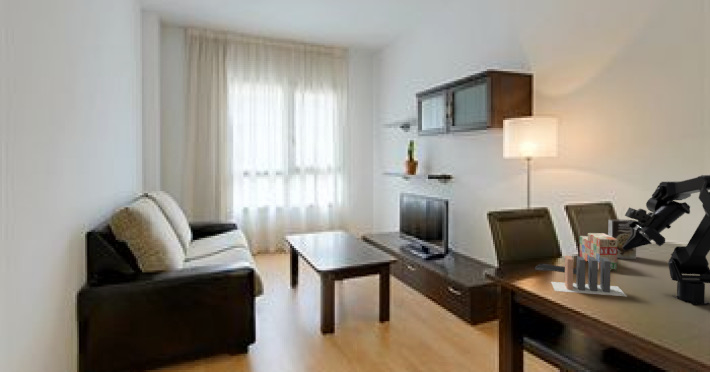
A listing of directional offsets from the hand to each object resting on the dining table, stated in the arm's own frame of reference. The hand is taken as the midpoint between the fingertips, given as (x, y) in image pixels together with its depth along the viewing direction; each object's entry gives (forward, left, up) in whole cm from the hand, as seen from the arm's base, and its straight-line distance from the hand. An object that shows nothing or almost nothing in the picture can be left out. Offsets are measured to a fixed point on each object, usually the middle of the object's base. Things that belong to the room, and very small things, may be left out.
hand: (623, 249), depth 133 cm
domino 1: (-4, +16, -12) cm, 20 cm away
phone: (+19, +13, -13) cm, 27 cm away
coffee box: (+39, -22, -13) cm, 47 cm away
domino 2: (-5, +12, -12) cm, 18 cm away
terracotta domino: (-3, +19, -12) cm, 23 cm away
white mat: (-5, +14, -13) cm, 19 cm away
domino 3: (-6, +9, -12) cm, 16 cm away
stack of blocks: (+30, -7, -13) cm, 33 cm away
